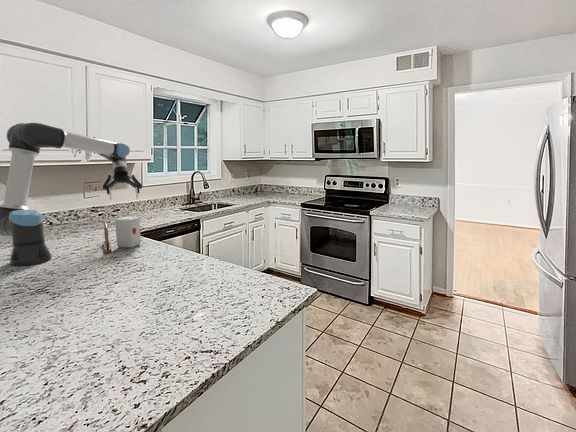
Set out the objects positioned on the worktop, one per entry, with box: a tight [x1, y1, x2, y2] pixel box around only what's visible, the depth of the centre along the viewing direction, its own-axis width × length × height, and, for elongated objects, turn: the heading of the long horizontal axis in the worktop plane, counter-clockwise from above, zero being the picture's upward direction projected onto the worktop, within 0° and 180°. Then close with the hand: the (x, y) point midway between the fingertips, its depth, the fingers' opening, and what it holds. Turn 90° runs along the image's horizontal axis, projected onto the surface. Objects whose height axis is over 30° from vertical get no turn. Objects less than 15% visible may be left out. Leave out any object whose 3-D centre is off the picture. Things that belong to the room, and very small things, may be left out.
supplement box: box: [114, 216, 142, 248], centre depth 182 cm, size 9×9×15 cm
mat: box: [118, 244, 141, 250], centre depth 184 cm, size 10×10×1 cm
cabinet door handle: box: [103, 220, 113, 254], centre depth 178 cm, size 3×22×15 cm, turn 30°
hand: (124, 197), depth 189 cm, fingers open, 13 cm apart
